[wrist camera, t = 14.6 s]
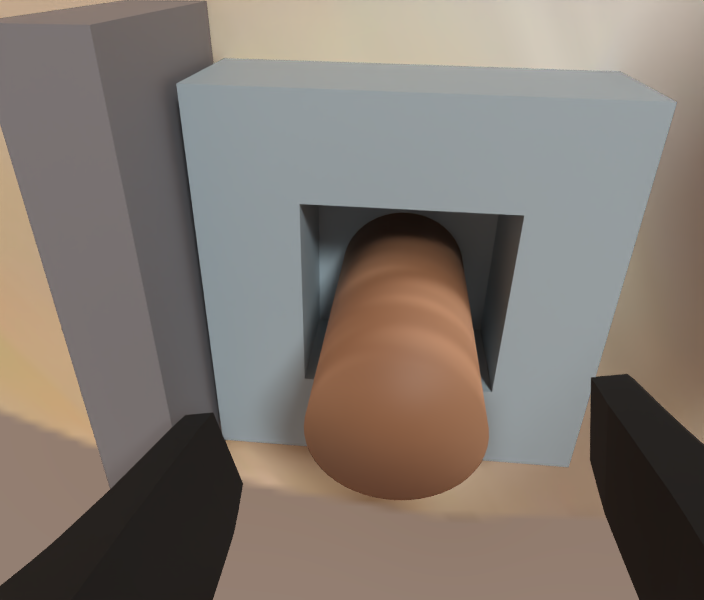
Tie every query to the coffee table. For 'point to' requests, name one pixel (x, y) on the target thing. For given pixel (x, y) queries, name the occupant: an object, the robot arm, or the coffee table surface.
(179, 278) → the charcoal wall
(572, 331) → the socket block
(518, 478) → the coffee table surface
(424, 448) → the dowel
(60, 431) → the coffee table surface
